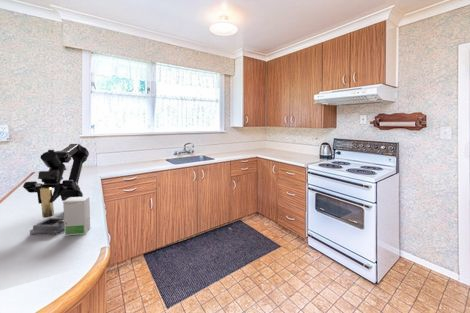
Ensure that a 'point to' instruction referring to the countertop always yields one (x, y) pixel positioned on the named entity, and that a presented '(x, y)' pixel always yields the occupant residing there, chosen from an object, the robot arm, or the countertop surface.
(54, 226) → the gray open box
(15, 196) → the countertop surface
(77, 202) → the skincare box
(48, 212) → the brass pin
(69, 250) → the countertop surface
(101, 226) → the countertop surface
